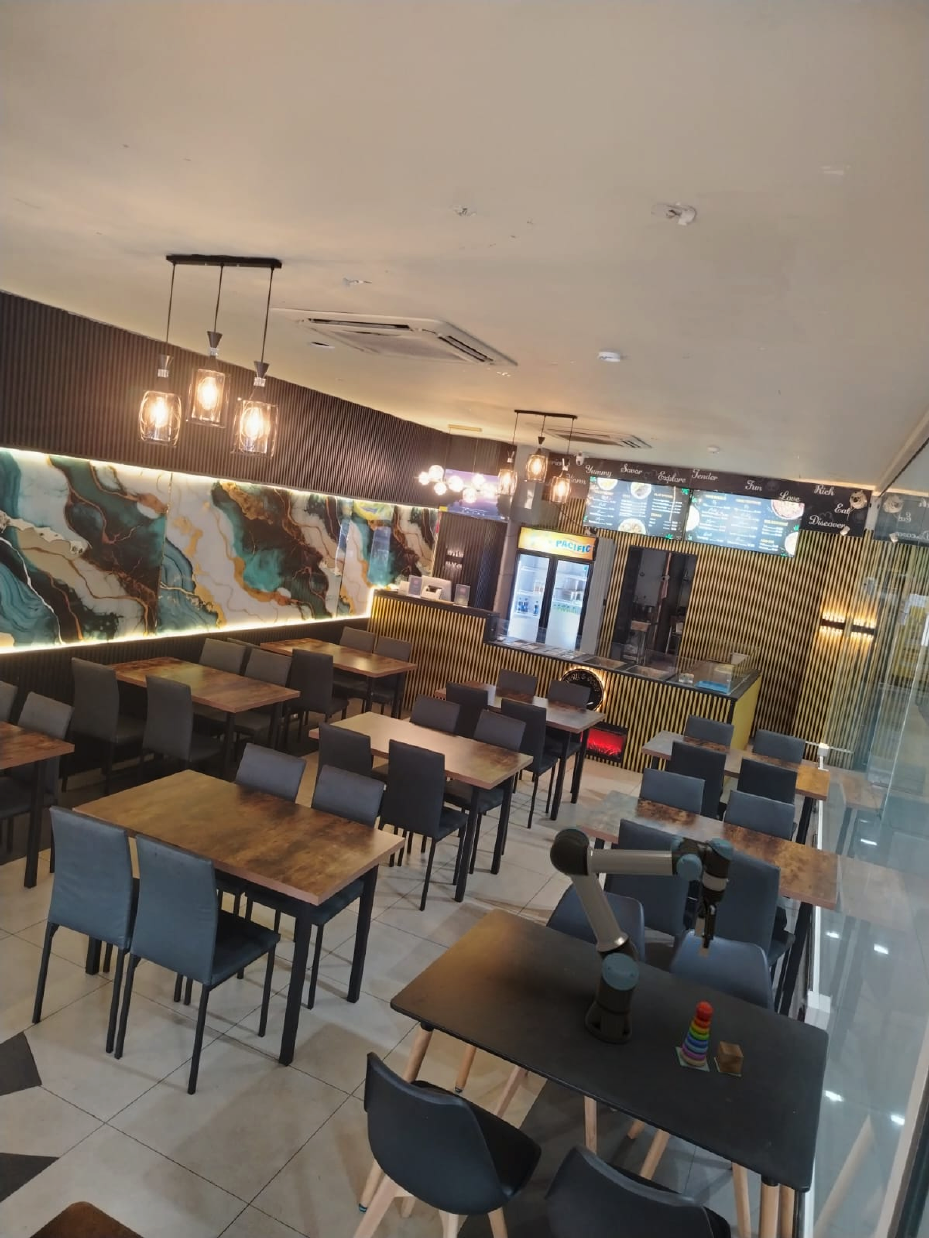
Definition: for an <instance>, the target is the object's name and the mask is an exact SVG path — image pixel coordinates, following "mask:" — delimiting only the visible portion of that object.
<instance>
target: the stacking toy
mask: <svg viewBox="0 0 929 1238" xmlns="http://www.w3.org/2000/svg"><path fill="white" fill-rule="evenodd" d="M695 1012H696V1014H695V1015H694V1017H693V1020H692V1021H691V1023H690V1027H689V1029H688V1031H687V1033H686V1034H687V1035H686V1038H685V1040H684V1041H683V1043H682V1045H681V1048H682V1049H681V1051H680V1054H681V1056H682V1058H683V1059H684V1060H685V1061H686V1062H688V1063H690V1064H692V1065H695V1066H702V1065H704V1064H705V1063H706V1061H707V1051H708V1045H709V1037H710V1034H709V1032H710V1025H711V1021H710V1019H711V1018H712V1017H713V1013H714V1010H713V1007H712V1006H711V1005H710V1004H709V1002H706V1001H701V1002H699V1003H697V1005H696V1008H695Z"/></svg>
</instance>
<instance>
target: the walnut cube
mask: <svg viewBox="0 0 929 1238" xmlns="http://www.w3.org/2000/svg"><path fill="white" fill-rule="evenodd" d="M717 1047H718V1048H717V1051H716V1056H715V1058H716V1061H717V1064H718V1066H719V1069H720V1071H723V1072H727V1073H732V1074H736V1075H740V1074H741V1071H742V1065H743V1062H744V1054H743V1052H742V1050H741V1048H740V1045H739V1044H734V1043H729V1042H724V1041H721V1040H720V1041H719V1043H718V1046H717ZM727 1073H726V1074H727Z"/></svg>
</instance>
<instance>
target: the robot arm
mask: <svg viewBox="0 0 929 1238" xmlns="http://www.w3.org/2000/svg"><path fill="white" fill-rule="evenodd" d="M590 844H591V843H590V839H589V837H588V835H587V833H586V832H585V831H584V830H583V829H582V828H579V827H577V826H566V827H564V828H562V829H561V830H560V831H559V832H558V833H557V834H556V835H555V837H554V840H553V843H552V845H551V847H550V850H549V859H550V862H551V864H552V866H553V868H554V869H555V870H557V871H558V872H560V873H562V874H564V876H567V877H569V878H570V880H571V882H572V884H573V887H574V889H575V892H576V894H577V896H578V898H579V901H580V903H581V905H582V908H583V910H584V912H585V914H586V917H587V919H588V922H589V924H590V926H591V929H592V931H593V934H594V935H595V938H596V940H597V942H596V945H595V949H596V952H597V954H598V956H599V958H600V960H601V963H602V965H601V969H600V975H599V981H598V985H597V990H596V995H595V998H594V1002H593V1003H592V1005H590V1008H589V1009H588V1011H587V1012H586V1016H585V1020H584V1025H585V1027H586V1029H587V1030H588V1032H589V1033H590V1034H591V1035H592V1036H594V1037H595V1038H597V1039H599V1040H601V1041H603V1042H606V1043H610V1044H615V1045H616V1044H624V1043H627V1042H628V1041H629V1040H630V1039H631V1037H632V1032H633V1027H632V1018H631V1011H632V1006H633V1001H634V997H635V993H636V987H637V984H638V981H639V977H640V973H639V972H640V968H639V965H640V964H639V963H640V958H639V952H638V948H637V947H636V945H635V944H634V943H633V942H632V940H630V938H629V936H628V934H627V933H626V932H623V931H621V928H620V926H619V924H618V921H617V919H616V916H615V915H614V912H613V910H612V907H611V905H610V903H609V901H608V899H607V896H606V894H605V892H604V889H603V887H602V884H601V883H600V880H599V878H598V876H597V874H611V875H612V874H615V875H617V874H619V875H643V876H645V875H647V876H652V875H653V876H673V877H674V876H675V877H677V876H678V877H680V878H681V879H683V880H685V881H688V882H690V881H691V882H692V881H694V880H697V879H698V878H700V876H701V874H702V868H703V867H704V871H703V875H702V878H701V885H700V889H699V895H700V896H701V899H700V902H699V905H698V908H697V911H696V912H697V918H696V922H695V928H694V933H693V936H694V937H695V938H700V939H701V942H700V946H699V951H698V957H702V958H705V959H706V958H708V955H709V951H710V948H711V944H712V941H714V935H715V929H716V928H715V927H716V920H717V919H716V917H717V912H718V908H717V905H716V903H720V902H722V901H723V900H724V896H725V893H726V892H725V891H726V890H725V889H726V886H727V883H729V882H730V880H729V879H728V877H729V874H730V868H731V866H732V865H731V864H732V860H733V855H734V854H733V853H734V848H735V847H734V845H733V843H732V842H730V841H728V840H726V839H723V838H717V837H713V838H711V840H710V842H704V841H700V840H696V839H692V838H689V837H686V836H681V835H673V837H672V840H671V844H670V850H654V849H653V850H651V849H649V850H647V849H646V850H645V849H613V848H612V849H611V848H593V847H592V846H591V845H590Z"/></svg>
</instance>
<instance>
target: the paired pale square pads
mask: <svg viewBox="0 0 929 1238" xmlns="http://www.w3.org/2000/svg"><path fill="white" fill-rule="evenodd" d="M681 1049H682V1047H678V1046H675V1050H676V1053H677V1056H678V1059H679V1064H680V1066H683V1067H688V1068H691V1069H695V1070H696V1069H697V1070H701V1071H705V1072H710V1068H709V1065H708V1062H707V1060H706V1063H705V1064H704V1065H702V1066H695V1065H692V1064H690V1063H688V1062H686V1061H685V1060H684V1059H683V1058H682V1056H681V1054H680V1051H681ZM713 1059H714V1062H715V1065H716V1068H717V1070H718V1072H719V1073H723V1074H727V1075H732V1076H736V1077H741V1078H742V1074H741V1073H740V1075H736V1074H732V1073H727V1072H723V1071H720V1069H719V1066H718V1064H717V1061H716V1056H715V1057H713Z"/></svg>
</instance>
